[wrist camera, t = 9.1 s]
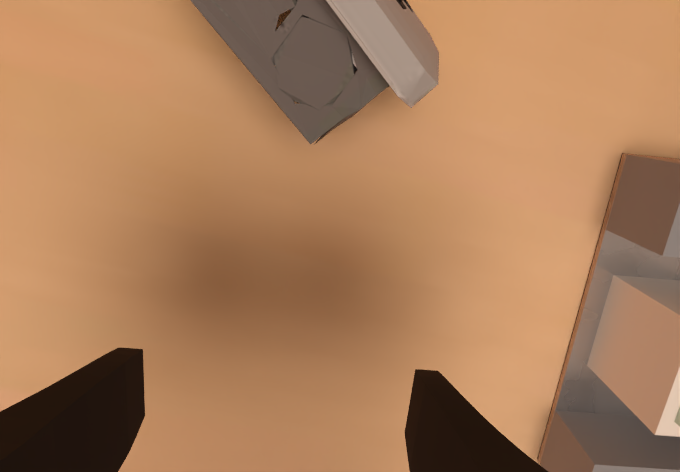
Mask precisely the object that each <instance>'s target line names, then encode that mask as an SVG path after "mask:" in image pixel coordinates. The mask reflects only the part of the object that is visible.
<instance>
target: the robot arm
mask: <svg viewBox="0 0 680 472" xmlns="http://www.w3.org/2000/svg"><path fill="white" fill-rule="evenodd" d="M144 416H145V404H144V373H143V349H131V348H117V349H115V350H113V351H111V352H109V353H107V354H105V355H104V356H102V357H100V358H98V359H96V360H95V361H93V362H91V363H89V364H88V365H86V366H84V367H82V368H81V369H79V370H77V371H75V372H74V373H72V374H70V375H68V376H67V377H65V378H63V379H61V380H60V381H58V382H56V383H54V384H52V385H51V386H49V387H47V388H45V389H43V390H41V391H39V392H37V393H36V394H34V395H32V396H30V397H28V398H26V399H24V400H22V401H20V402H18V403H16V404H14V405H12V406H10V407H9V408H7V409H5V410H3V411H1V412H0V472H118V471H119V469H120V467H121V465H122V464H123V462H124V460H125V459H126V457H127V455H128V453H129V451H130V449H131V447H132V445H133V442H134V440H135V438H136V436H137V433H138V431H139V428H140V426H141V424H142V421H143V419H144ZM405 439H406V447H407V455H408V462H409V469H410V472H548V471H547V470H546V469H544V468H543V467H542V466H540V465H539V464H538V463H536V462H535V461H534V460H532V459H531V458H530V457H528V456H527V455H526V454H525V453H524V452H522V451H521V450H520V449H519V448H517V447H516V446H515V445H514V444H513V443H512V442H511V441H509V440H508V439H507V438H506V437H505V436H504V435H503V434H501V433H500V432H499V431H498V430H497V429H496V428H495V427H494V426H493V425H491V424H490V423H489V422H488V421H487V420H486V419H485V418H484V417H483V416H482V415H481V414H480V413H479V412H478V411H477V410H476V409H475V408H474V407H473V406H472V405H471V404H470V403H469V402H468V401H467V400H466V399H465V398H464V397H463V396H462V395H461V394H460V393H459V392H458V391H457V390H456V389H455V388H454V387H453V386H452V385H451V384H450V383H449V381H448V380H447V379H446V378H445V377H444V376H443V375H442V374H441V373H439V372H438V371H431V370H417V369H415V375H414V381H413V387H412V393H411V399H410V405H409V411H408V417H407V422H406V428H405Z"/></svg>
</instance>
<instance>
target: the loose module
mask: <svg viewBox="0 0 680 472" xmlns="http://www.w3.org/2000/svg"><path fill="white" fill-rule="evenodd" d="M587 366H588V367H589V368H590V369H591V370H592V371H593V372H594V373H595V374H596V375H597V376H598V377H599V378H600V379H601V380H602V381H603V382H604V383H605V384H606V385H607V386H608V387H609V388H610V390H611V391H612V392H613V393H614V394H615V395H616V396H617V397H618V398H619V399H620V400H621V401H622V402H623V403H624V404H625V405H626V406H627V407H628V408H629V409H630V410H631V411H632V412H633V413H634V414H635V415H636V416H637V417H638V418H639V419H640V420H641V421H642V422H643V423H644V424H645V425H646V426H647V427H648V429H649V430H650V431H651V432H652V433H653V434H654V435H662V436H677V437H680V280H668V279H656V278H645V277H633V276H621V275H613V278H612V281H611V285H610V288H609V292H608V295H607V298H606V302H605V305H604V309H603V312H602V315H601V319H600V322H599V326H598V329H597V333H596V336H595V339H594V343H593V346H592V350H591V353H590V356H589V360H588V363H587Z"/></svg>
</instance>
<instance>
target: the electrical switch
mask: <svg viewBox="0 0 680 472" xmlns="http://www.w3.org/2000/svg"><path fill="white" fill-rule="evenodd" d="M191 1H192V3H193V4H194V5H195V6H196V7H197V9H198V10H199V11H200V12H201V13H202V15H203V16H204V17H205V18H206V19H207V21H208V22H209V23H210V24H211V25H212V27H213V28H214V29H215V30H216V31H217V33H218V34H219V35H220V36H221V37H222V39H223V40H224V41H225V42H226V43H227V45H228V46H229V47H230V48H231V49H232V51H233V52H234V53H235V54H236V55H237V57H238V58H239V59H240V60H241V61H242V63H243V64H244V65H245V66H246V67H247V69H248V70H249V71H250V72H251V73H252V75H253V76H254V77H255V78H256V79H257V81H258V82H259V83H260V84H261V85H262V87H263V88H264V89H265V90H266V91H267V93H268V94H269V95H270V96H271V97H272V99H273V100H274V101H275V102H276V103H277V105H278V106H279V107H280V108H281V109H282V111H283V112H284V113H285V114H286V115H287V117H288V118H289V119H290V120H291V121H292V123H293V124H294V125H295V126H296V127H297V129H298V130H299V131H300V132H301V133H302V135H303V136H304V137H305V138H306V139H307V141H308V142H309V143H310V144H312V143H313V142H314V141H316V140H317V139H318V138H319V137H320V138H319V139H318V140H317V142H318V141H319V140H320V139H322V138H323V137H324V136H325V135H327V134H328V133H329V132H330V131H331V130H333V129H334V128H336V127H337V126H339V125H340V124H342V123H343V122H345V121H346V120H348V119H349V118H351V117H352V116H353V115H355V114H356V113H357V112H358V111H359V110H360V109H362V108H363V107H364V106H365V105H366V104H367V103H368V102H370V101H371V100H372V99H373V98H374V97H375V96H377V95H378V94H379V93H380V92H382V91H383V90H384V89H386V88H387V87H388V86H390V87H391V88H392V89H393V91H394V92H395V93H396V95H397V96H398V97H399V98H400V99H401V100H403V101H404V102H405V103H406V104H407V105H408V106H409V107H411V108H412V107H413V106H414V105H415V104H416V103H417V102H418V101H420V100H421V99H422V98H423V97H424V96H425V95H426V94H427V93H429V92H430V91H431V90H432V89H433V88H434V87H435V86H436V85H438V70H439V52H438V50H437V48H436V46H435V44H434V42H433V39H432V37H431V35H430V34H429V33H428V31H427V30H426V28H425V27H424V25H423V24H422V23H421V21H420V20H419V18H418V17H417V15H416V14H415V13H414V11H413V10H412V8H411V7H410V5H409V4H408V2H407V1H406V0H191ZM288 10H290V11H291V12H290V14H289V15H288V16H287V17H286V19H285V20H284V21H283V22H282V24H281V25H280V26H279V27H278V29H277V30H276V26H277V22H278V18H279V15H280V14H282V13H284V12H286V11H288ZM294 101H295V102H298V103H299V104H295V103H294ZM317 142H316V143H317Z"/></svg>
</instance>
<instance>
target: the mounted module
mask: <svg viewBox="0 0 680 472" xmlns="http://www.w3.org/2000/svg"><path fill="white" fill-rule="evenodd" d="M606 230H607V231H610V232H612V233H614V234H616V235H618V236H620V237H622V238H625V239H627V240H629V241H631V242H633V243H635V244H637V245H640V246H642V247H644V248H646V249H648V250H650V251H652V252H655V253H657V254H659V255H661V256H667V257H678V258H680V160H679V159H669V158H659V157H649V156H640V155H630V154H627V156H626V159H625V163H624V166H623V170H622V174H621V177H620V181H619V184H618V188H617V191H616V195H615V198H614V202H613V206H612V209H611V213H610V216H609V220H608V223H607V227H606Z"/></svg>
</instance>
